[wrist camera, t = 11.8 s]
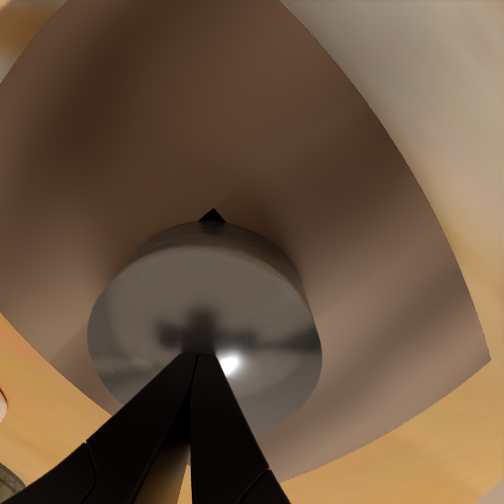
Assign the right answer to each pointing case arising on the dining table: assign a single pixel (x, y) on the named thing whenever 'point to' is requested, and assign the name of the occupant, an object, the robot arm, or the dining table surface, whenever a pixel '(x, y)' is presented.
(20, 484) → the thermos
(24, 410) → the dining table surface
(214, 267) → the steel pin
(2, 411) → the white cylindrical piece
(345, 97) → the walnut beam
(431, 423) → the dining table surface
